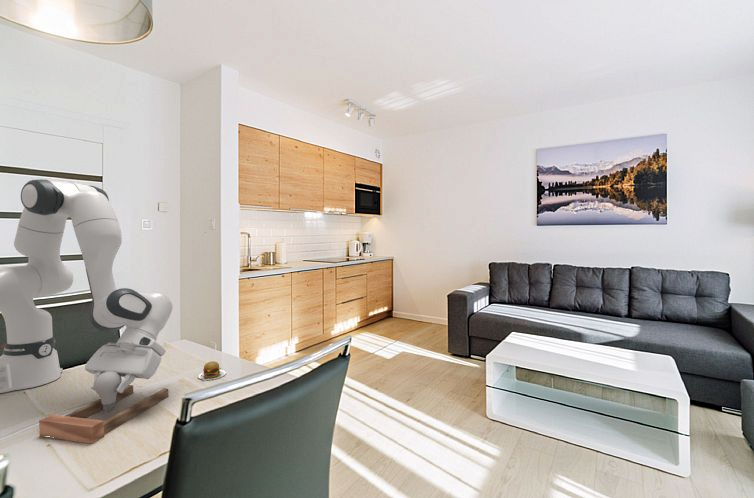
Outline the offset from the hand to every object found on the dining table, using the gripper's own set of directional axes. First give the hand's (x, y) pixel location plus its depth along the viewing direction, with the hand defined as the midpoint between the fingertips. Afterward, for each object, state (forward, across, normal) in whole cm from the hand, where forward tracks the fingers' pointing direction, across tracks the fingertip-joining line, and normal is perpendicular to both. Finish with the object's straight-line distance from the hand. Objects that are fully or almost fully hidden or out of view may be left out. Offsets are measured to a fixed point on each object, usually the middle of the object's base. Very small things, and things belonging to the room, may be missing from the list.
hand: (106, 390), depth 99 cm
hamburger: (-16, +10, +28) cm, 34 cm away
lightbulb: (+4, 0, +5) cm, 6 cm away
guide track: (+4, 0, +6) cm, 7 cm away
